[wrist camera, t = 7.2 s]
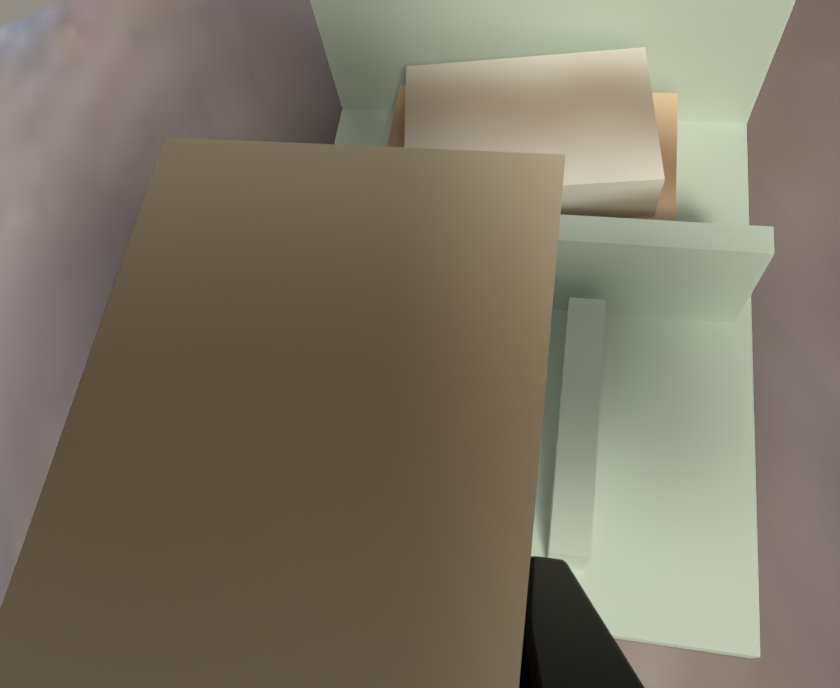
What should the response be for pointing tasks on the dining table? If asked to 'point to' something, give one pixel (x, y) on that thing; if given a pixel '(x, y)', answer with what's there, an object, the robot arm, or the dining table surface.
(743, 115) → the offcut rack
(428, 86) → the white offcut
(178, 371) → the birch board
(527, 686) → the robot arm
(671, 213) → the pine offcut
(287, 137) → the dining table surface
